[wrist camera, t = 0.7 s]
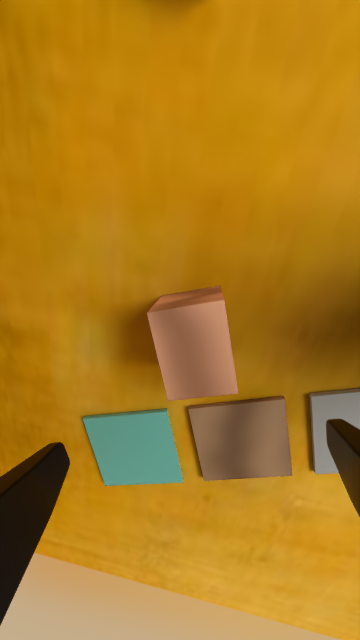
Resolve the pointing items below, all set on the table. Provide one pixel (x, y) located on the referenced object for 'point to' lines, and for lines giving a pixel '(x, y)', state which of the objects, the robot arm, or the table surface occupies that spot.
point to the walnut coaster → (242, 438)
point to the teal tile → (134, 447)
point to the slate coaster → (338, 404)
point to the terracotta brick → (193, 344)
